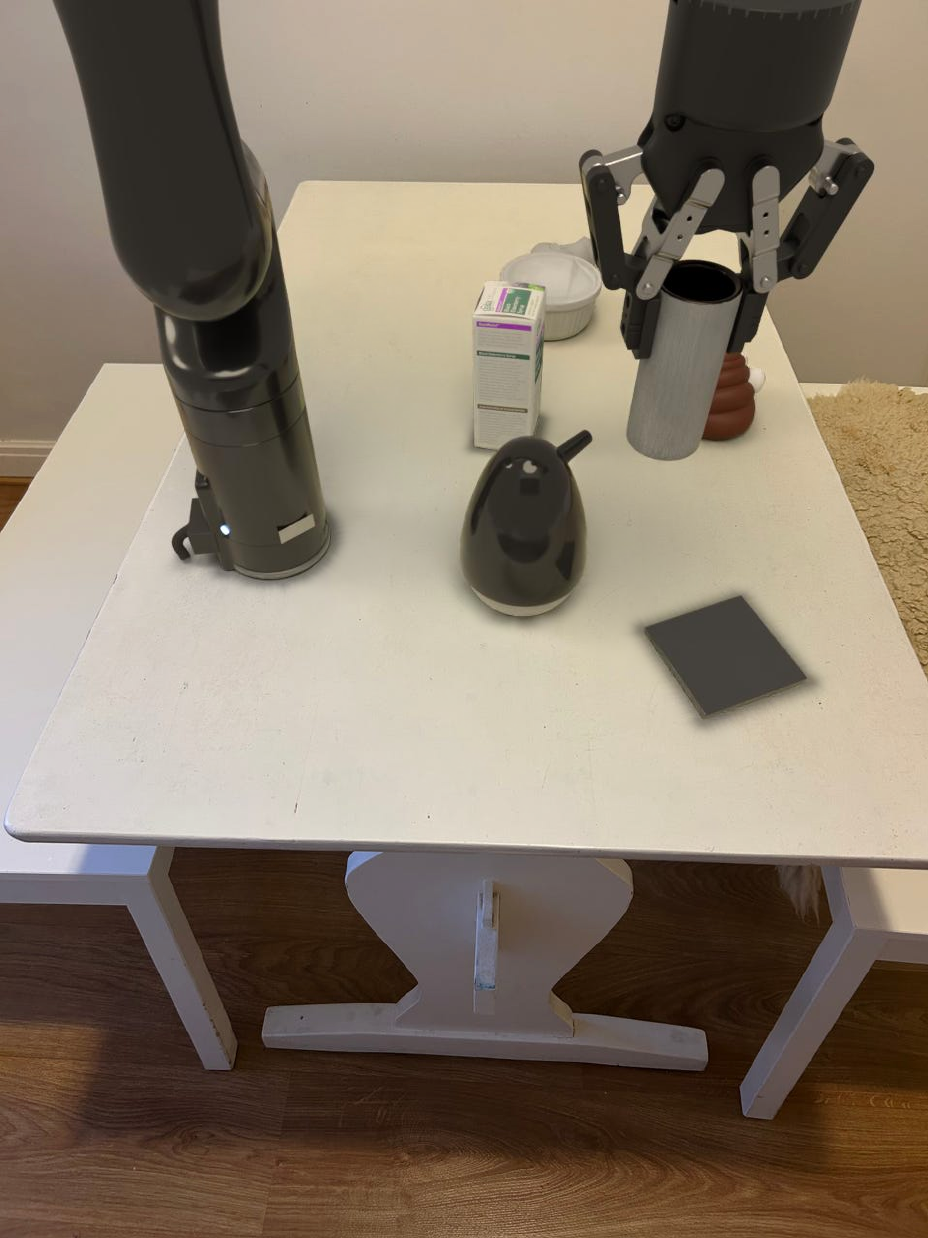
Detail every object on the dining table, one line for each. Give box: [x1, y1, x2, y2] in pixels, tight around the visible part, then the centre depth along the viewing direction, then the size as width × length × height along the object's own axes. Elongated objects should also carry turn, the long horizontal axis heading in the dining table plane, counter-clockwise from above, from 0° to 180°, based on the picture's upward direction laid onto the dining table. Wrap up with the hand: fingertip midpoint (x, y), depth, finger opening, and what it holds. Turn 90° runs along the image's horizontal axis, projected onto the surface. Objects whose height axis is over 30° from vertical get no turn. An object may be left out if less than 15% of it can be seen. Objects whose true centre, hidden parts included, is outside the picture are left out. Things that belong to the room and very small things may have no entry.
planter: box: [625, 259, 743, 462], centre depth 48 cm, size 4×4×10 cm
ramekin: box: [498, 252, 603, 341], centre depth 94 cm, size 11×11×5 cm
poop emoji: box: [702, 350, 766, 441], centre depth 81 cm, size 10×8×9 cm
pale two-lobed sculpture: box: [529, 236, 596, 267], centre depth 101 cm, size 4×8×5 cm
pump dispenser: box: [458, 429, 593, 617], centre depth 64 cm, size 10×10×15 cm
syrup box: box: [471, 280, 547, 451], centre depth 77 cm, size 6×6×14 cm
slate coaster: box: [643, 594, 808, 720], centre depth 65 cm, size 9×9×1 cm
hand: (683, 347), depth 47 cm, fingers closed on planter, 4 cm apart
